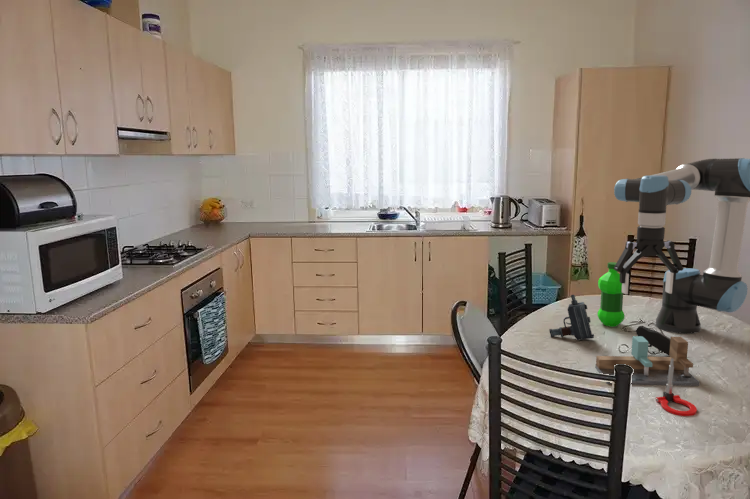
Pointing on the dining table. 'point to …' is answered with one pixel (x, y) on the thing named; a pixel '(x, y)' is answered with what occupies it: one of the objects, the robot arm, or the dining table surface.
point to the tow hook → (674, 397)
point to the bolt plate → (656, 377)
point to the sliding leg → (641, 352)
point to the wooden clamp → (653, 359)
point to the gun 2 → (655, 339)
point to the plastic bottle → (611, 298)
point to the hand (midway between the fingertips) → (646, 292)
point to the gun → (575, 322)
